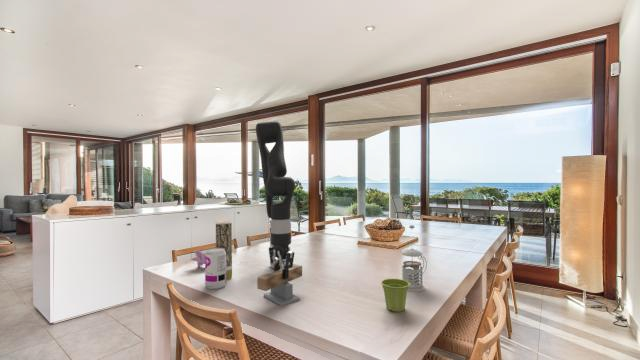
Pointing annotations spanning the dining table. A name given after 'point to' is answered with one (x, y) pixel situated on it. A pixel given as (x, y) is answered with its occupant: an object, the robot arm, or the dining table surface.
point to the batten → (278, 278)
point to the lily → (199, 258)
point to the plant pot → (395, 293)
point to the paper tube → (225, 243)
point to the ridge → (282, 294)
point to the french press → (415, 272)
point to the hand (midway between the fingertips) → (281, 277)
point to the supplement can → (215, 268)
